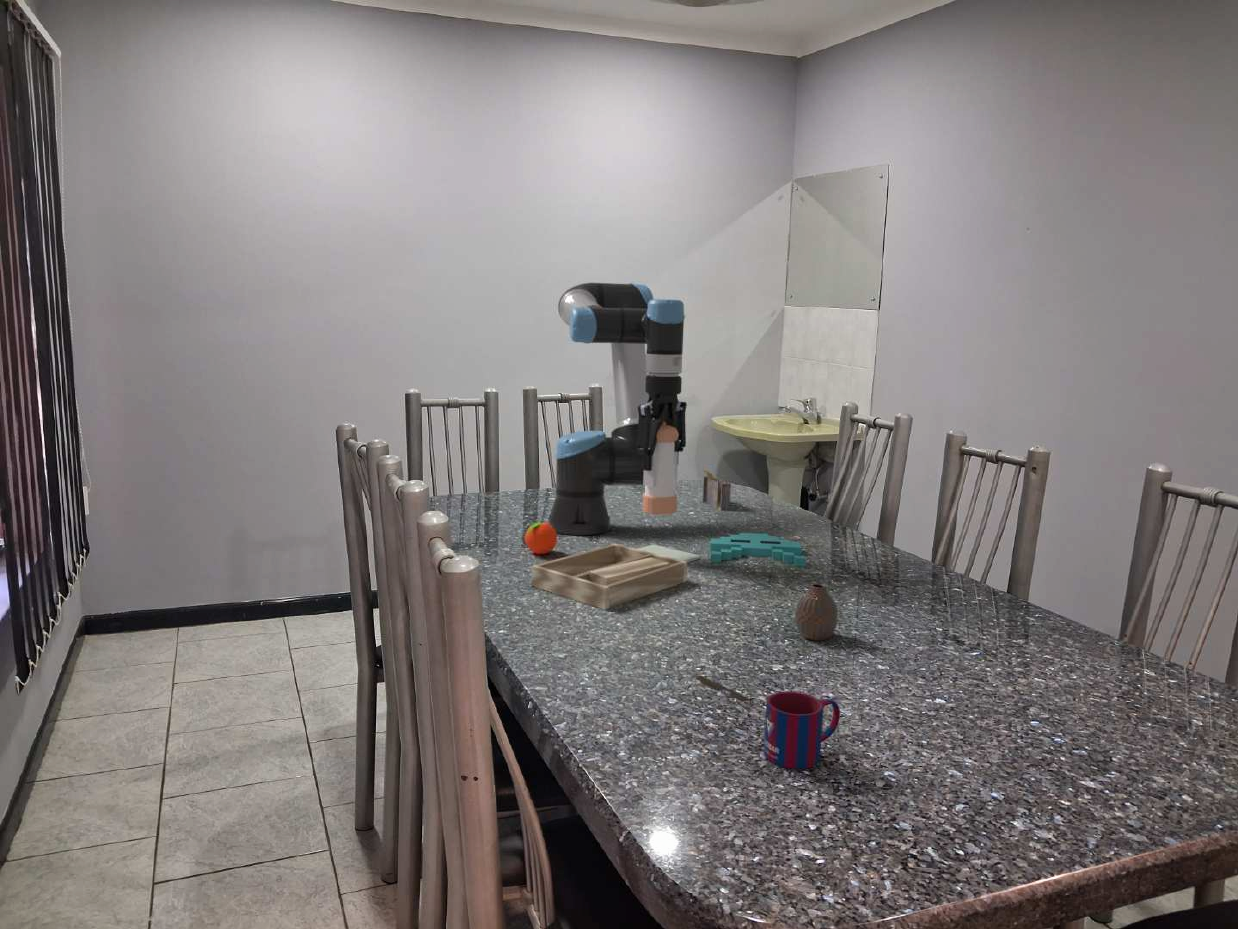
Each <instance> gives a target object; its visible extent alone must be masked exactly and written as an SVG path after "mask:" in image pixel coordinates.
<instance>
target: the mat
mask: <svg viewBox="0 0 1238 929" xmlns="http://www.w3.org/2000/svg"><path fill="white" fill-rule="evenodd" d="M637 549H638V550H642V551H646V552H650V553H654V554H658V555H662V556H666V557H670V558H674V559H678V560H682V561H686V562H687V563H690V562H693V561H696V560H699V559H701V555H698V554H694V553H690V552H688V551H687V552H686V551H681V550H678V549H674V548H670V547H666V546H663V545H662V546H661V545H659V544H650V545H646V546H643V547H640V548H639V547H638V548H637Z"/></svg>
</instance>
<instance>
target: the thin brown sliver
mask: <svg viewBox="0 0 1238 929" xmlns="http://www.w3.org/2000/svg"><path fill="white" fill-rule="evenodd" d="M695 679H696V680H698V681H699V683H701V684H702V685H703V686H706V687H708V688H710V689H713V690H715V691H719V692H720V691H722V690H725V691H727V692H729V694H728V695H729V696H730V697H732V698H734V699H736V700H737V701H739V702H741V703H744V702H747V701H749V702H751V703H754V704H757V702H756V701H753V700H751V699H750V698H748V697H747V696H744V695H743V694H740V693H739V692H736V691H734V690H731V689H729V688H727V687H725V686H724V685H722V684H720V683H718V682H715V681H713V680H710V679H708V678H706V677H704V676H703V675H699V676H696V678H695Z"/></svg>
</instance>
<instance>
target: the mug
mask: <svg viewBox="0 0 1238 929" xmlns="http://www.w3.org/2000/svg"><path fill="white" fill-rule="evenodd" d="M765 705H766V710H765V724H764V725H765V726H764V729H765V730H764V741H763V742H764V745H763V754H764V756H765V758H766V759H767V761H769V762H770V763H773V764H774V765H776V766H778V767H781V768H785V769H791V770H804V769H805V770H807V769H810V768H813V767H814V766H815V767H816V765H817V764H818V763H819V762H820V761H821V753H822V752H821V751H822V750H821V748H822V743H823V742H825V741H826V740H828V739H830V737H831V736H832V735H833V734H834V732H835V731H836V730H837V728H838V725H839V722H840V717H841V710H840V706H839V704H838V703H837V702H836V701H835V700H834V699H831V698H826V699H825V698H824V699H818V698H817V697H815V696H812V695H810V694H807V693H804V692H798V691H779V692H775V693H773V694H770V695H769V696H768V697H767V698H766V704H765ZM828 705H831V706H832V709H833V712H832V713H833V714H832V718H831V722H830V724H829V726H828V728H826V729H825V730H824V732H823V719H824V708H825V707H826V706H828Z"/></svg>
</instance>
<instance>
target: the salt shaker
mask: <svg viewBox="0 0 1238 929" xmlns="http://www.w3.org/2000/svg"><path fill="white" fill-rule="evenodd" d="M678 436H679V434H678V431H677V429H676V428H674V427H672V426H669V425H666V422H663V424H662V425H661V426H660V429H659V430H658V433H657V443H656V447H655V451H654V454H653V455H656V486H655V487H651V486H646V485H644V493H642V512H644V513H647V514H650V515H672V514H676V513H677V506H678V505H677V504H678V495H677V494H676V490H677V489H676V488H677V482H676V474H675V465H674V446H675V442H674V441H676V440H677V439H678Z"/></svg>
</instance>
